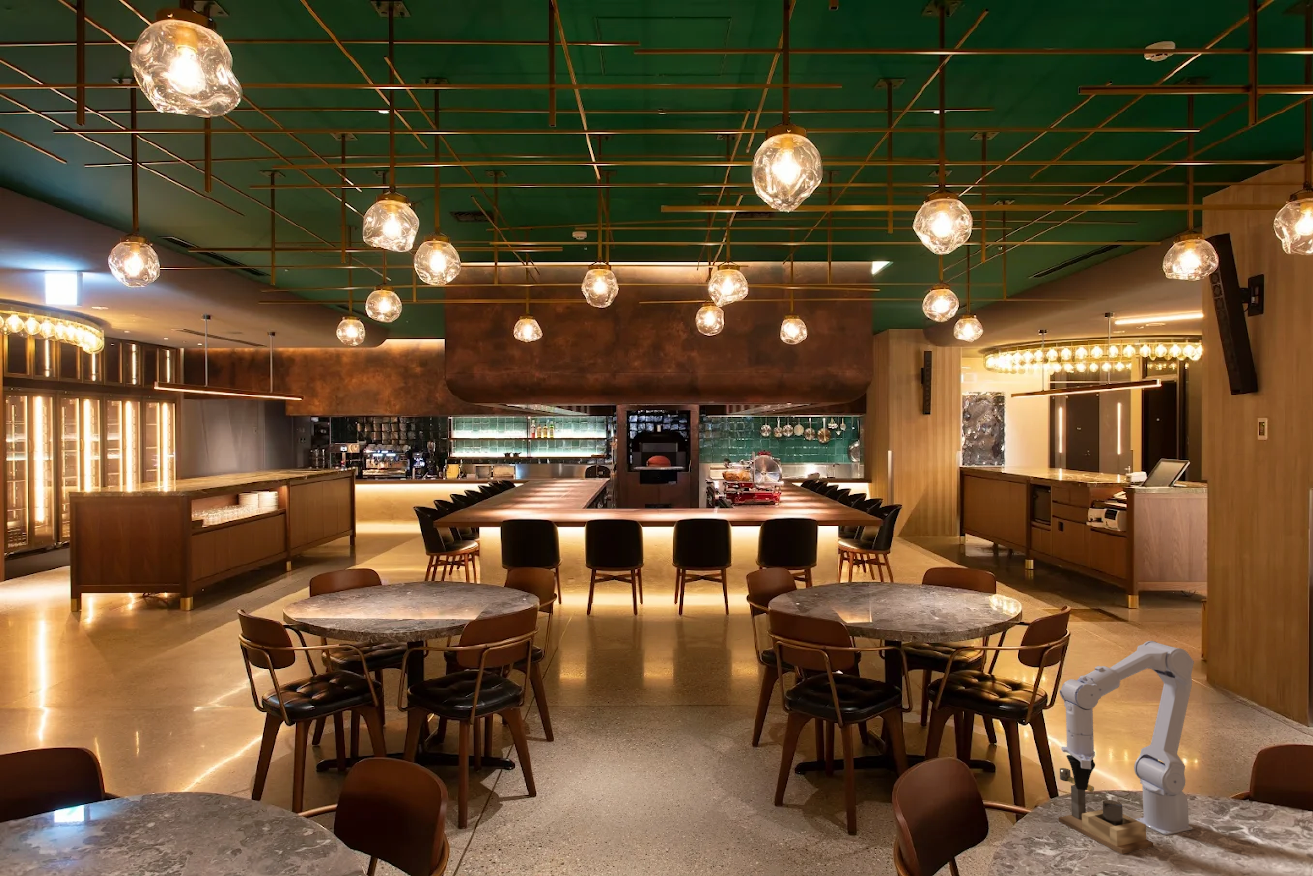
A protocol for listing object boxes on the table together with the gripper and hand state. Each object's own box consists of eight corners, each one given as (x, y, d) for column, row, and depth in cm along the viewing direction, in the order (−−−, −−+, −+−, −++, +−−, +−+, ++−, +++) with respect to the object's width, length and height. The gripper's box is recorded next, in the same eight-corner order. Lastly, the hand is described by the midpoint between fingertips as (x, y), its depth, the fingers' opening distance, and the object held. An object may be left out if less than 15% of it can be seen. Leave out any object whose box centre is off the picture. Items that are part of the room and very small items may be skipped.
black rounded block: (1127, 836, 174) (1126, 805, 174) (1115, 839, 172) (1114, 808, 173) (1110, 828, 178) (1110, 798, 178) (1099, 831, 176) (1098, 801, 176)
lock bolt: (1064, 777, 189) (1064, 767, 189) (1095, 791, 181) (1095, 781, 181) (1057, 778, 188) (1057, 768, 189) (1088, 792, 180) (1088, 782, 180)
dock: (1088, 815, 187) (1087, 781, 187) (1153, 847, 171) (1152, 809, 171) (1058, 821, 183) (1057, 787, 184) (1121, 854, 167) (1120, 816, 168)
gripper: (1056, 720, 188) (1057, 775, 187) (1066, 739, 174) (1067, 798, 174) (1088, 724, 185) (1089, 779, 185) (1100, 743, 172) (1102, 802, 171)
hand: (1081, 788), depth 179 cm, fingers closed
